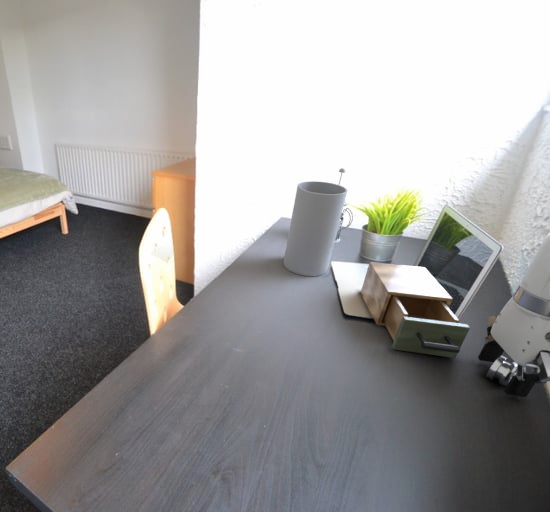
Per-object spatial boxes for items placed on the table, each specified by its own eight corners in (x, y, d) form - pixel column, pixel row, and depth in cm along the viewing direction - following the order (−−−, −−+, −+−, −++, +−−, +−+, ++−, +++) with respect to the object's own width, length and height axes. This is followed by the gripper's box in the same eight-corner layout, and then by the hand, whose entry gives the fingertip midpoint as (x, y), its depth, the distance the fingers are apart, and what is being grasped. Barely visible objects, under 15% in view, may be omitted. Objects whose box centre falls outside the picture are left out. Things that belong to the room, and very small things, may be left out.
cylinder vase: (336, 273, 109) (358, 191, 97) (303, 281, 105) (321, 197, 93) (305, 255, 119) (322, 179, 108) (274, 262, 115) (287, 184, 103)
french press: (319, 230, 137) (335, 163, 125) (351, 240, 129) (371, 169, 118) (306, 237, 131) (320, 168, 120) (338, 248, 123) (357, 175, 112)
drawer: (466, 373, 72) (482, 341, 68) (400, 363, 74) (413, 332, 71) (427, 319, 87) (439, 291, 83) (374, 312, 90) (383, 285, 86)
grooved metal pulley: (494, 371, 73) (505, 351, 71) (513, 380, 71) (525, 361, 69) (482, 380, 71) (493, 361, 69) (501, 390, 69) (513, 371, 67)
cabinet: (437, 334, 84) (453, 298, 79) (376, 325, 86) (388, 291, 82) (412, 299, 96) (425, 267, 92) (360, 293, 99) (369, 261, 95)
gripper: (615, 336, 54) (556, 417, 62) (536, 278, 69) (496, 349, 77) (554, 329, 56) (504, 409, 64) (489, 274, 71) (455, 344, 79)
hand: (500, 376), depth 71 cm, fingers open, 8 cm apart
